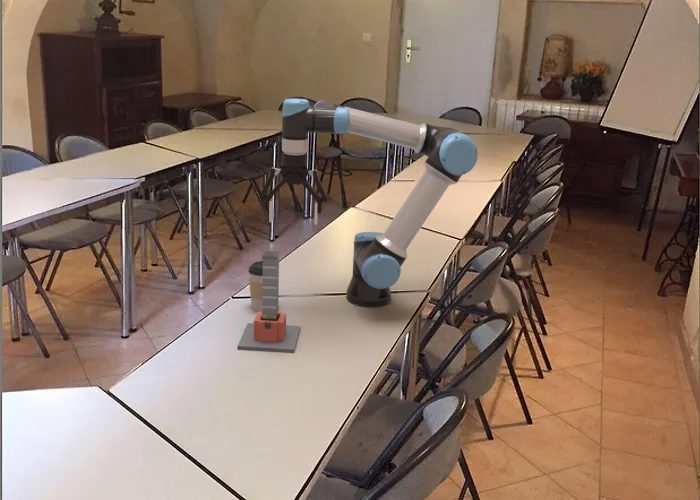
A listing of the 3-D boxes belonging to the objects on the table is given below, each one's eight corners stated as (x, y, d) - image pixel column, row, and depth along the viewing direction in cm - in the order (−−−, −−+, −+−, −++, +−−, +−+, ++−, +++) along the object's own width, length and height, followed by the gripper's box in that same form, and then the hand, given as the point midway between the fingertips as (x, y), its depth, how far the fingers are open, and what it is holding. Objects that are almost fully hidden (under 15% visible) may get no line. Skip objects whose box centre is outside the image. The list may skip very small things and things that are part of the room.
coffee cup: (271, 314, 226) (272, 269, 221) (244, 310, 227) (244, 266, 223) (280, 303, 234) (280, 260, 230) (253, 300, 236) (253, 257, 231)
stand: (300, 329, 216) (300, 307, 214) (293, 352, 201) (294, 329, 199) (247, 326, 217) (247, 304, 214) (237, 349, 201) (237, 325, 199)
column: (278, 313, 209) (279, 251, 203) (276, 319, 204) (277, 256, 198) (264, 312, 209) (264, 250, 203) (261, 318, 205) (261, 255, 199)
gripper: (337, 152, 213) (335, 221, 219) (254, 148, 213) (254, 216, 220) (336, 157, 206) (333, 227, 212) (250, 152, 206) (250, 223, 213)
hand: (293, 222), depth 216 cm, fingers open, 13 cm apart
